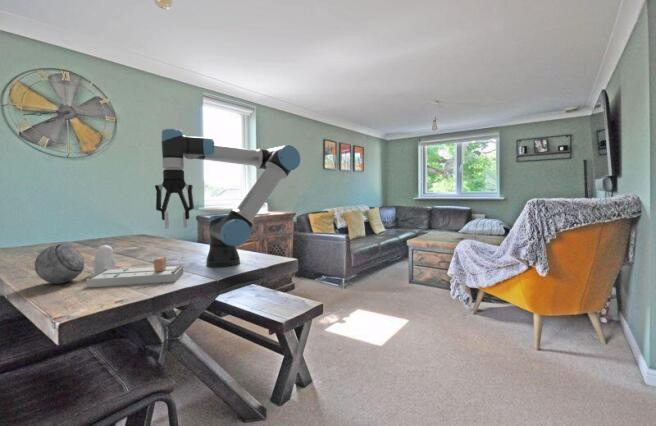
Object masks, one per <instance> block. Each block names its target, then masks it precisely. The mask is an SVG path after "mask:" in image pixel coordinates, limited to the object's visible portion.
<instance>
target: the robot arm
mask: <svg viewBox="0 0 656 426" xmlns="http://www.w3.org/2000/svg"><path fill="white" fill-rule="evenodd" d="M160 142H161V153H162V155H161V156H162V169H163V171H162V175H163V178H162V179H163V180H162V183H161V184H155V185H154V188H155V190H156V193H155V194H156V199H155V200H156V201H155V210H156V211H158V212H161V219H162V221H164V229H165V230H166V229H169V228H170V226H169V225H170V221H169V211H167V208H168V205H169V201H170V198H171V196H172V194H177V195H178V196H179V199H180V201H181V204H182V206H183V209H184V211H183V210H182V219H183V220H182V223H183V224H182V225H183V229H186V228H188V224H187V222H188V221H187V220H189V219H190V211H191V210H194V208H195V207H194V198H193V196H194V195H193V187H194V185H193V184H188V183H186V181H185V171H184V170H183V169H184V168H185V164H184V163H185V162H184V161H185V160H184V159H185V158H186V159H187V160H194V159H195V160H204V161H205V160H206V161H213V162H218V163H219V162H220V163H221V162H222V163H228V164H236V165H246V166H252V167H255V168H256V169H261V170H264V171H263V172H262V173H261V175H260V176H259V177H258V179H257V180H256V181H255V183H254V185H253V186H252V187H251V188H250V190H249V191H248V193H247V194H246V195H245V197H244V198H243V199H242V201H241V202H240V203H239V205H238V206H237V207H236V208H235V209H231V210H230V211H229V213H227V214H216V215H211V216H209V218H208V234H209V235H208V237H209V250H208V253H207V257H206V261H205V262H206V266H208V267H213V268H222V267H223V268H224V267H230V266H231V267H232V266H237V265H238V264H240V263H241V258H240V254H239V253H238V250H237V247H239V246H242V245H243V244H245V243H246V242H247V241H248V240H249V238H250V237H251V236H250V235H251V229H252V228H253V226H254V221H253V220H254V218H255V217H256V216H257V215H258V213H259V211H260V210H261V209H262V208H263V206H264V204H265V203H266V202H267V200H268V199H269V197H271V195H272V193H273V191H274V190H275V189H276V187H277V186H278V185H279V183H280V182H281V181H282V180H283V179H287V177H288V176H289V175H290V173H291V172H292V171H295V170H296V169H297V168H298V167H299V166H300V164H301V155H300V154H301V153H300V152H299V150H298V149H297V148H296V147H295V146H294V145H290V144H284V145H282V146H277V147H273V148H268V149H267V148H266V149H262V148H258V149H249V148H248V149H247V148H241V147H235V146H227V145H222V144H221V145H220V144H215V142H214V139H213V138H211V137H205V136H204V137H203V136H188V135H184V134H183V131H182V130H181V129H176V128H165V129H162V131H161V141H160ZM163 188H164V189H165V197H164V200H163V203H162V192H163V191H162V190H163ZM185 188H186V189H185ZM184 189H185V190H187V197H188V203H187V200H186V198H185V195H184V192H183V190H184Z"/></svg>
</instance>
